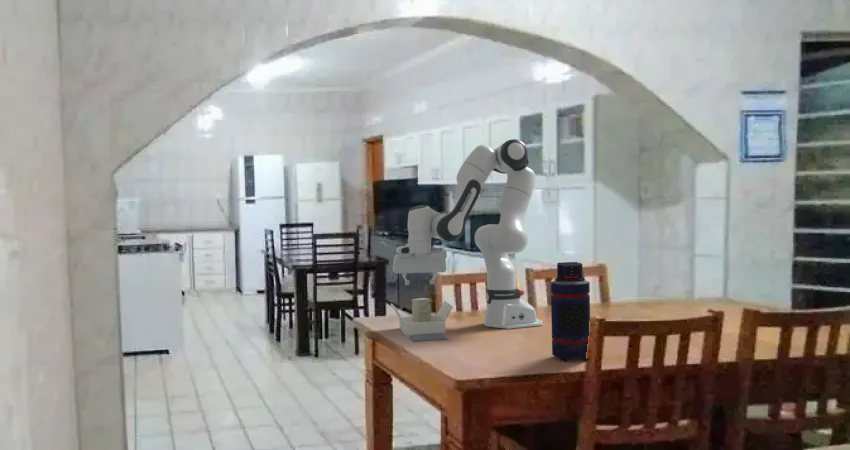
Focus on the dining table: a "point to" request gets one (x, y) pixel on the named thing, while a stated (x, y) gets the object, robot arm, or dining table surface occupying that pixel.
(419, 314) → the skincare box
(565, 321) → the dark blue bottle
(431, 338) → the mat
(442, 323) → the carton
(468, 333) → the dining table surface
